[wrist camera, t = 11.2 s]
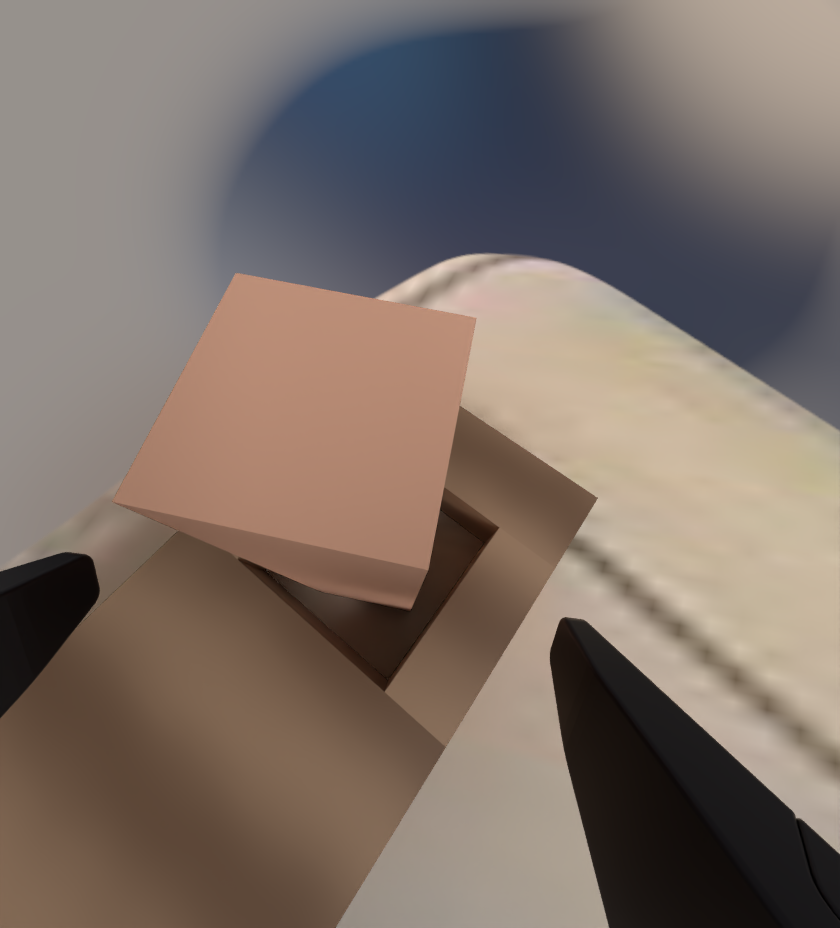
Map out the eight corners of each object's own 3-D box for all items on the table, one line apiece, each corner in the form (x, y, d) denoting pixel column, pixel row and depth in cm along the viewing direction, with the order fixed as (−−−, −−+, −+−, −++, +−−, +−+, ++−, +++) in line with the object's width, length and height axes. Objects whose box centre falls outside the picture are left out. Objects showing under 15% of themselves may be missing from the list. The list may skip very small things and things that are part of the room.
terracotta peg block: (410, 611, 17) (428, 570, 5) (319, 591, 17) (111, 501, 5) (428, 521, 18) (476, 318, 6) (345, 504, 18) (235, 273, 6)
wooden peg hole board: (143, 1192, 11) (51, 1392, 8) (-87, 848, 13) (-217, 907, 10) (568, 517, 18) (597, 498, 16) (375, 383, 21) (371, 346, 18)
